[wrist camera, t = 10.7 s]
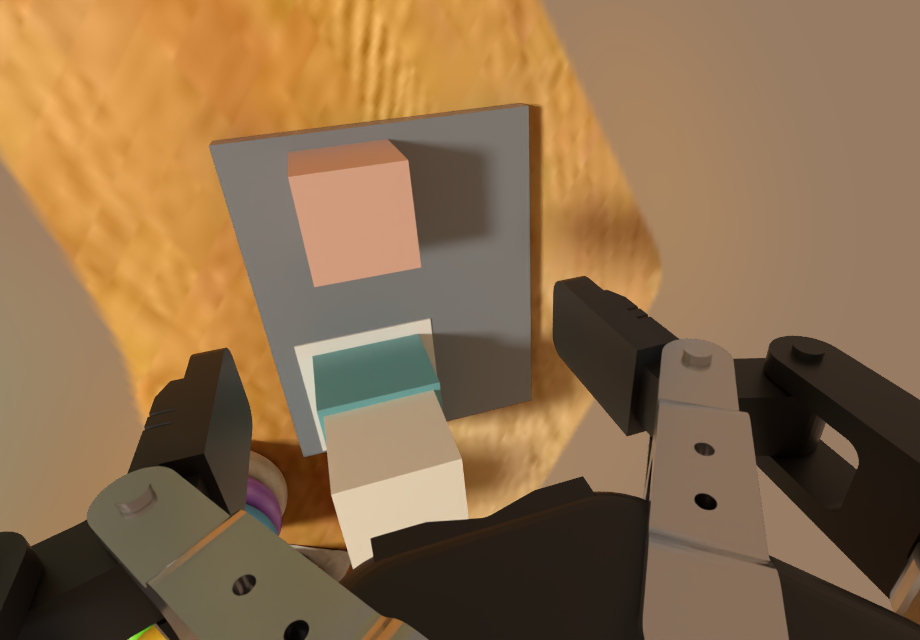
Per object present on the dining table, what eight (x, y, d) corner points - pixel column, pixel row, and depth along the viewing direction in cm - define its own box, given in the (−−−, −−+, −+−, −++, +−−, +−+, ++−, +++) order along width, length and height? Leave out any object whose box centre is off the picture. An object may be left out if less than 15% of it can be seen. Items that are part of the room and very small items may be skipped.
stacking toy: (306, 505, 35) (322, 885, 19) (189, 552, 34) (105, 992, 18) (256, 421, 31) (223, 817, 15) (121, 471, 30) (-63, 950, 14)
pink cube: (400, 231, 27) (421, 267, 23) (309, 246, 26) (314, 287, 22) (387, 139, 25) (408, 160, 20) (287, 152, 24) (288, 177, 19)
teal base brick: (429, 414, 33) (450, 469, 29) (333, 438, 32) (340, 499, 27) (418, 333, 30) (439, 382, 26) (312, 356, 29) (316, 411, 24)
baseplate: (524, 389, 36) (531, 401, 35) (303, 444, 33) (303, 458, 32) (519, 103, 27) (529, 105, 26) (212, 140, 24) (208, 146, 23)
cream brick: (444, 468, 29) (471, 543, 24) (345, 495, 27) (355, 578, 23) (433, 389, 26) (462, 458, 22) (323, 416, 25) (331, 494, 21)
